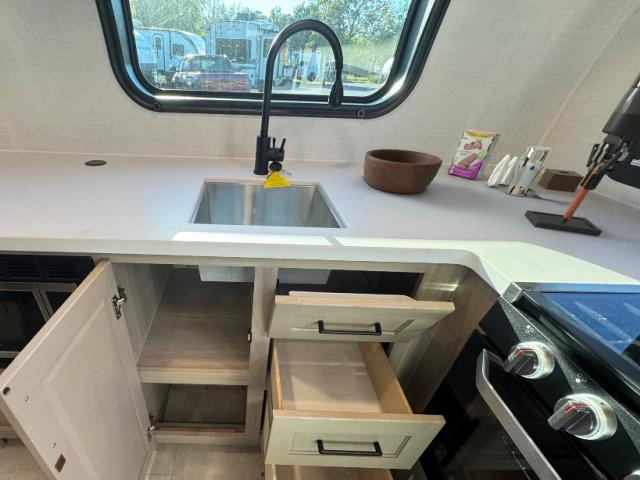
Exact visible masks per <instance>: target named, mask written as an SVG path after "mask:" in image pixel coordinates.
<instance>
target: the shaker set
mask: <svg viewBox="0 0 640 480" xmlns="http://www.w3.org/2000/svg"><path fill="white" fill-rule="evenodd" d="M518 163H519V157H518V156H513V158H512V159H511V154H510V153H508V154H506V155H505V156H504V157H503V158H502V160H501V161H500V162H499V163H497V165H496V166H495V167H494V169H493V171H492V172H491V175H490V177H489V179H488V180H487V185H488V187H492V186H493V187H494V186H497V185H500V184H501V185H503V186H504V185H506V186H509V184H510V182H511V181H512V179H513V177H514V175H515V171H516V168H517V166H518Z"/></svg>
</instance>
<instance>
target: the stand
mask: <svg viewBox="0 0 640 480" xmlns="http://www.w3.org/2000/svg"><path fill="white" fill-rule="evenodd" d="M584 178H585V176H584V175H582V174H580V173H579V172H576V171H575V170H568V169H567V170H566V169H565V170H564V169H555V168H545V170H544V172H543V174H542V175H541V176H540V179H539V181H538V182H537V184H538V185H539V186H540V187H541V188H543V189H544V190H548V191H557V192H566V193H575V192H576V191H577V189H578V187H580V184H581V182H582V181H583V179H584Z"/></svg>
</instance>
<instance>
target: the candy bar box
mask: <svg viewBox="0 0 640 480" xmlns="http://www.w3.org/2000/svg"><path fill="white" fill-rule="evenodd" d="M501 135H502V134H501V133H496V132H490V131H484V130H477V129H466V130H464V131H463V134H462V137H461V139H460V142H459V145H458V147H457V149H456V152H455V154H454V157H453V159H452V161H451V164H450V167H449V168H448V171H447V174H448V175H451V174H452V176H455V175H456V177H459V176H461V177H460V178H463V177H465V178H464V179H468V178H469V179H468V180H472V179H473V180H472V181H477V180H481V178H482V176H483V173H484V172H485V169H486V167H487V166H488V163H489V161H490V159H491V157H492V154H493V152H494V150H495V148H496V145H498V142H499V139H500V137H501ZM476 179H477V180H476Z"/></svg>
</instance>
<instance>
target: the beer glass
mask: <svg viewBox="0 0 640 480" xmlns="http://www.w3.org/2000/svg"><path fill="white" fill-rule="evenodd" d="M553 150H554V149H553V148H552V147H549V146H543V145H542V146H541V145H540V146H539V145H528V146H527V147H526V149H525V150H524V152H523V153H522V155H521V157H520V159H519V160H518V163H517V168H516V171H515V173H514V175H513V177H512V179H511V181H510V182H511V183H509V185H508V187H507V188H506V189H505V194H507V195H510V196H514V197H526V196H527V195H528V192H529V189H530V187H531V185H532V183H533V182H534V180H535V179H536V178H537V177H538V175H539V174H540V173H541V171H542V170H543V169H544V167H545V166H546V164H547V162H548V160H549V159H550V156H551V153H552V152H553Z"/></svg>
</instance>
